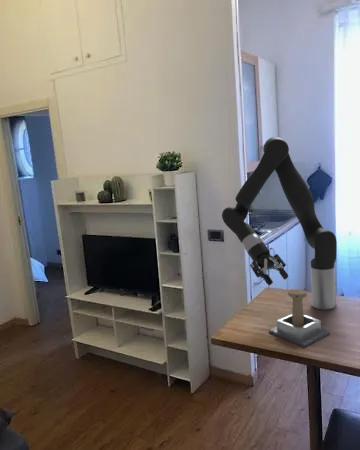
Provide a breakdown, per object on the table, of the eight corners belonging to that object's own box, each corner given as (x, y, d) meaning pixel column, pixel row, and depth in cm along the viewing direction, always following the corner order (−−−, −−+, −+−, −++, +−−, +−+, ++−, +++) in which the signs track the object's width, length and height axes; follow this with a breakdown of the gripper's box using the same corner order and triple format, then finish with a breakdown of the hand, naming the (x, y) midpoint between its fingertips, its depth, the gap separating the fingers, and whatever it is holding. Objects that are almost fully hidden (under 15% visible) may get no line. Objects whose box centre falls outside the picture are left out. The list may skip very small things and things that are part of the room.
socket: (294, 320, 153) (293, 308, 152) (329, 334, 140) (329, 321, 139) (269, 332, 145) (268, 319, 145) (304, 347, 132) (303, 333, 131)
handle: (307, 334, 139) (306, 294, 136) (288, 332, 141) (287, 293, 139) (307, 328, 144) (306, 289, 141) (289, 326, 146) (288, 289, 143)
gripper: (246, 245, 147) (270, 280, 140) (272, 238, 155) (296, 271, 148) (237, 256, 152) (260, 291, 145) (263, 249, 160) (286, 281, 153)
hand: (279, 281), depth 146 cm, fingers open, 8 cm apart
